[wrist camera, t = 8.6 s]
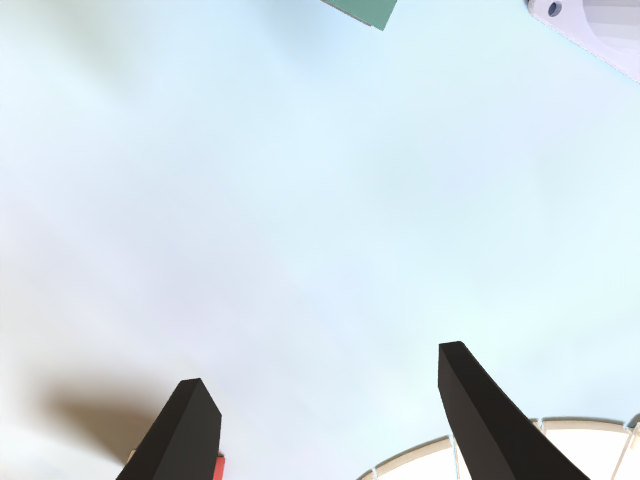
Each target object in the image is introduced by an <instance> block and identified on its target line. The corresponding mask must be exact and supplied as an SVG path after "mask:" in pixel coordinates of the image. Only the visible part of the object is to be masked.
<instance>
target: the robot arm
mask: <svg viewBox="0 0 640 480" xmlns="http://www.w3.org/2000/svg"><path fill="white" fill-rule="evenodd" d="M553 2H555V4H556V9H555V11H554V13H553V14H552V15H551V16H549V14H548V9H549V7H550V5H551V4H552V3H553ZM528 11H529V14H530V15H531V16H532V17H534V18H535V19H537V20H538V21H540V22H542V23H543V24H545V25H546V26H548V27H550V28H551V29H553V30H554V31H556V32H558V33H559V34H561V35H562V36H564V37H566V38H567V39H569V40H570V41H572V42H574V43H575V44H577V45H578V46H580V47H582V48H583V49H585V50H586V51H588V52H590V53H591V54H593V55H594V56H596V57H598V58H599V59H601V60H602V61H604V62H606V63H607V64H609V65H610V66H612V67H613V68H615V69H617V70H618V71H620V72H621V73H623V74H625V75H626V76H628V77H629V78H631V79H633V80H634V81H636V82H637V83H639V84H640V0H529V3H528ZM438 388H439V392H440V395H441V399H442V402H443V406H444V409H445V412H446V415H447V419H448V422H449V424H450V427H451V429H452V432H453V434H454V437H455V439H456V442H457V444H458V447H459V449H460V452H461V454H462V457H463V459H464V462H465V464H466V467H467V469H468V471H469V474H470V476H471V479H472V480H591V479H590V478H589V477H588V476H586V475H585V474H584V473H583V472H582V471H581V470H580V469H579V468H578V467H577V466H575V465H574V464H573V463H572V462H571V461H570V460H569V459H568V458H567V457H566V456H565V455H564V454H563V453H562V452H561V451H560V450H559V449H558V448H557V447H556V446H555V445H554V444H553V443H552V442H551V441H550V440H549V439H548V438H547V437H546V436H545V435H544V434H543V433H542V432H541V431H540V430H539V429H538V428H537V427H536V426H535V425H534V424H533V423H532V422H531V421H530V420H529V419H528V418H527V417H526V416H525V415H524V414H523V413H522V412H521V411H520V409H519V408H518V407H517V406H516V405H515V404H514V403H513V402H512V401H511V400H510V399H509V397H508V396H507V395H506V394H505V393H504V392H503V391H502V390H501V388H500V387H499V386H498V385H497V384H496V383H495V382H494V380H493V379H492V378H491V377H490V376H489V374H488V373H487V372H486V371H485V370H484V368H483V367H482V366H481V365H480V364H479V362H478V361H477V360H476V359H475V357H474V356H473V355H472V353H471V352H470V351H469V350H468V348H467V347H466V346H465V344H464V343H463V342H461V341H456V342H449V343H442V344H439V361H438ZM221 417H222V415H221V413H220V411H219V410H218V408H217V406H216V404H215V403H214V401H213V399H212V397H211V396H210V394H209V392H208V391H207V389H206V387H205V385H204V384H203V382H202V380H201V378H196V379H189V380H182V381H180V383H179V384H178V386H177V387H176V389H175V390H174V392H173V393H172V395H171V397H170V398H169V400H168V401H167V403H166V404H165V406H164V408H163V409H162V411H161V412H160V414H159V416H158V417H157V419H156V420H155V422H154V423H153V425H152V426H151V428H150V430H149V431H148V433H147V434H146V436H145V437H144V439H143V440H142V442H141V443H140V445H139V446H138V448H137V449H136V451H135V452H134V454H133V455H132V457H131V458H130V460H129V461H128V463H127V464H126V466H125V467H124V468H123V470H122V471H121V473H120V474H119V475H118V477H117V478H116V480H213V476H214V471H215V466H216V461H217V456H218V450H219V441H220V430H221Z"/></svg>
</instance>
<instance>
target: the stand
mask: <svg viewBox="0 0 640 480" xmlns="http://www.w3.org/2000/svg"><path fill="white" fill-rule="evenodd" d="M321 1H323V2H325V3H327V4H329V5H330V6H332V7H334V8H336V9H338V10H340V11H342V12H344V13H345V14H347V15H349V16H351V17H353V18H355V19H357V20H359V21H360V22H362V23H364V24H366V25H368V26H371V25H372V26H374V27H376V28H378V29H379V30H382V31H383V30H384V28H385V26H386V23H387V21H388V19H389V17H390V15H391V13H392V11H393V8H394V6H395V4H396V2H397V0H321Z"/></svg>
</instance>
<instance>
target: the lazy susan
mask: <svg viewBox="0 0 640 480" xmlns="http://www.w3.org/2000/svg"><path fill="white" fill-rule="evenodd" d="M532 423H533V424H534V425H535V426H536V427H537V428H538V429H539V430H540V431H541V432H542V433H543V434H544V435H545V436H546V437H547V438H548V439H549V440H550V441H551V442H552V443H553V444H554V445H555V446H556V447H557V448H558V449H559V450H560V451H561V452H562V453H563V454H564V455H565V456H566V457H567V458H568V459H569V460H570V461H571V462H572V463H573V464H574V465H575V466H577V467H578V468H579V469H580V470H581V471H582V472H583V473H584V474H585V475H586V476H588V477H589V478H590V479H591V480H640V421H639V422H638V423H637V425H636V427H635V428H630V427H626V430H625V428H624V427H623V426H622V425H617V424H611V423H604V422H594V421H574V420H564V421H542V425H541V428H540V426H539V424H538V422H532ZM454 446H455V455H456V464H457V473H458V480H472V479H471V476H470V474H469V471H468V469H467V467H466V464H465V462H464V459H463V457H462V454H461V452H460V449H459V447H458V444H457V442H456V439H455V437H454ZM376 471H377V478H378V480H456V477H455V469H454V460H453V452H452V446H451V443H450V440H449V438H448V439H445V440H442V441H439V442H436V443H433V444H430V445H427V446H424V447H422V448H419V449H416V450H414V451H412V452H409V453H407V454H405V455H402V456H400V457H398V458H396V459H394V460H392V461H390V462H388V463H386V464H384V465H383V466H381V467H379V468H377V469H376ZM361 480H376V479H375V476H374V474H373V472H371V473H369V474H368V475H367V476H365V477H364V478H362V479H361Z"/></svg>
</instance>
